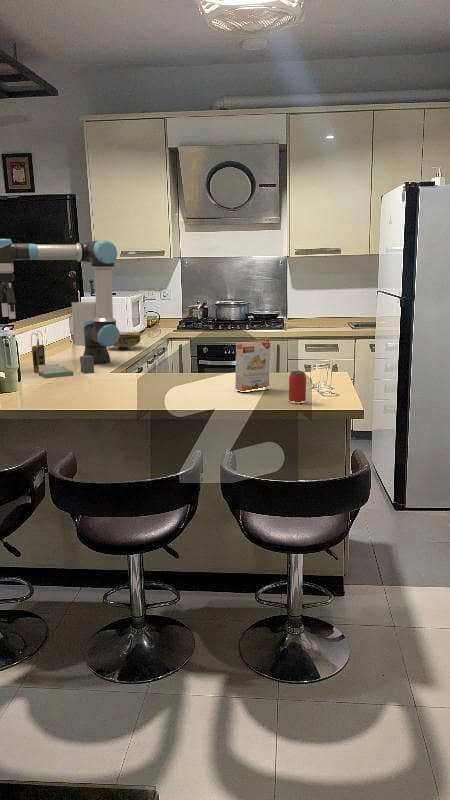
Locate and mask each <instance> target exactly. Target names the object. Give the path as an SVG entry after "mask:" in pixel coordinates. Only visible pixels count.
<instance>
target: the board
mask: <svg viewBox="0 0 450 800" xmlns="http://www.w3.org/2000/svg"><path fill="white" fill-rule="evenodd" d="M38 373H39V374H38V376H39V377H42V378H43V379H50V378H53V379H54V378H59V377H70V376H71V377H72V376H74V371H73V370H70V369H68V368H65V365H60V363H54V364H53V363H52V364H45V365H39V372H38Z"/></svg>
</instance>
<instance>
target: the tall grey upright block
mask: <svg viewBox="0 0 450 800" xmlns="http://www.w3.org/2000/svg"><path fill="white" fill-rule="evenodd" d="M71 314H72V330H73V331H72V332H73V345H74V344H75V345H74V346H76V345H81V346H80V347H85V339H84V322H85V321H92V320H94V319H95V318H96V301H83V302H81V301H80V302H71Z"/></svg>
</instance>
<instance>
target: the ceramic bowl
mask: <svg viewBox="0 0 450 800" xmlns="http://www.w3.org/2000/svg"><path fill="white" fill-rule="evenodd" d="M119 332H120V337H119V340H118V342H117V343H116V344H115V345H113V346H112V347H115V348H116V350H117V349H120V350H119V351H127V349H129V350H130V348H131V347H134V346H137V345H138V344H139V343H140V342H141V336H142V335H143V333H141V332H134V331H132V332H131V331H119Z"/></svg>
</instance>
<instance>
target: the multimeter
mask: <svg viewBox="0 0 450 800" xmlns="http://www.w3.org/2000/svg"><path fill="white" fill-rule="evenodd" d="M38 333H40V334H41V336H43V334H42V331H39V330H38V331H37V332H32V333H31V335H30V336H31V338H30V340H31V341H30V344H31V354H32V363H33V372H34V373H36V374H37V375H39V365H46V355H45V345H44V344H43V341H41V344H40V340H39V339H36V345H33V341H32V340H33V334H34V335H36V336H39V334H38Z"/></svg>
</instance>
